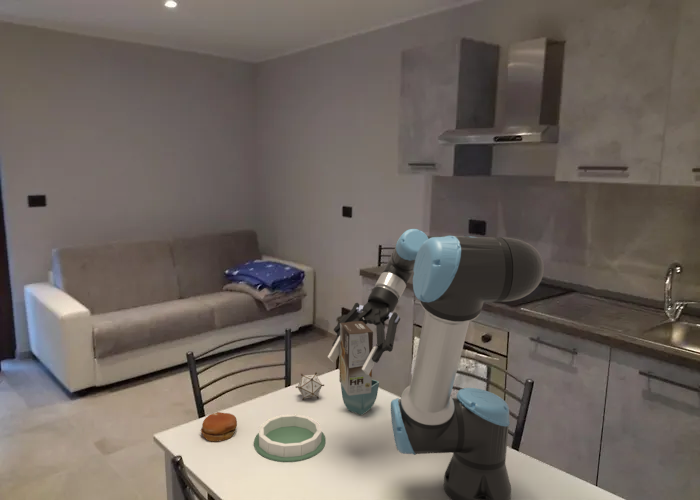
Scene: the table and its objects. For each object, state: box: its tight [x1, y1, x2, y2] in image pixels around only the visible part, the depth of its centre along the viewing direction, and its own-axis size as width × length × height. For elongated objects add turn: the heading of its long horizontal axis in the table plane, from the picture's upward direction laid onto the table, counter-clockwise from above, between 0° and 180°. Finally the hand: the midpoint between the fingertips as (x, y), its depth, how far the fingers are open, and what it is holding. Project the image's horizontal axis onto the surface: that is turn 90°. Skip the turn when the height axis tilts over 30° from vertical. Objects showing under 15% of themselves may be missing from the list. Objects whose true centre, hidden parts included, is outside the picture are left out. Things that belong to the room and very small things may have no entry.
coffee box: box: [339, 321, 374, 396], centre depth 126 cm, size 9×6×16 cm
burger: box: [200, 411, 238, 442], centre depth 137 cm, size 10×9×5 cm
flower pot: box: [340, 379, 380, 416], centre depth 153 cm, size 9×9×9 cm
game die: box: [295, 371, 325, 401], centre depth 160 cm, size 9×8×10 cm
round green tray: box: [253, 413, 326, 463], centre depth 134 cm, size 19×19×4 cm
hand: (347, 365), depth 125 cm, fingers closed on coffee box, 10 cm apart
